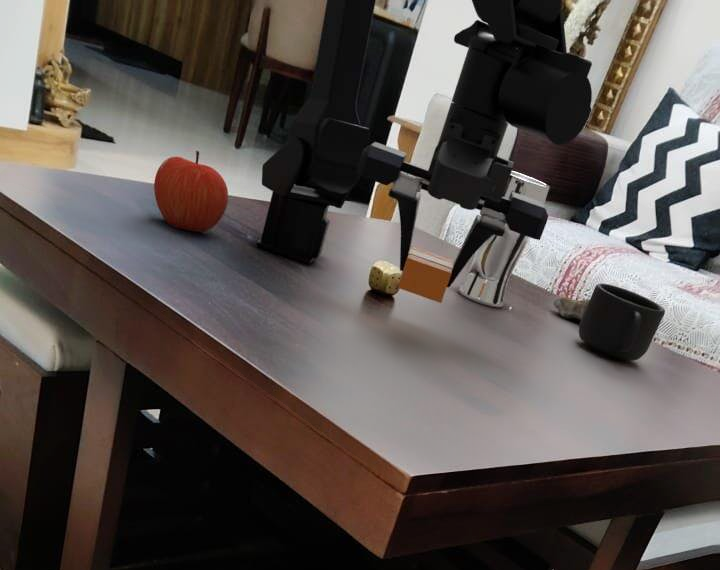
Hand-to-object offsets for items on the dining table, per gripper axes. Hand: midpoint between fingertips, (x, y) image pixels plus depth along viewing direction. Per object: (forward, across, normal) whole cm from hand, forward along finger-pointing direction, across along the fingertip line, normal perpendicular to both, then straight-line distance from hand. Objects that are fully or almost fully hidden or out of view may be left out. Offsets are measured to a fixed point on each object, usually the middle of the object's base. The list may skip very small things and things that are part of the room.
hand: (424, 278), depth 101 cm
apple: (+6, -27, +10) cm, 29 cm away
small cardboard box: (+1, 0, 0) cm, 1 cm away
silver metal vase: (+6, +8, +28) cm, 30 cm away
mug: (+6, +25, +21) cm, 33 cm away
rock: (+6, +24, +36) cm, 44 cm away
